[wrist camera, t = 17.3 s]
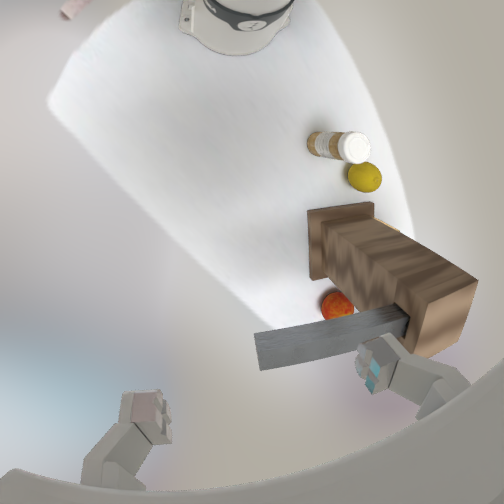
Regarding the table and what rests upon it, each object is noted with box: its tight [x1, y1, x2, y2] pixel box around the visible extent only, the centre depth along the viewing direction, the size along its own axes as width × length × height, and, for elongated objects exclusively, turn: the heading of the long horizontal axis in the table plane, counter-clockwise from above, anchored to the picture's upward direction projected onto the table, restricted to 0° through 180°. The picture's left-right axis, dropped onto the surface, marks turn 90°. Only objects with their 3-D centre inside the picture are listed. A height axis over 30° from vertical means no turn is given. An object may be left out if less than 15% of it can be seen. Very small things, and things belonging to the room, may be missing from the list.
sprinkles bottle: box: [307, 131, 371, 164], centre depth 40 cm, size 5×5×13 cm
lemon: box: [348, 162, 382, 192], centre depth 45 cm, size 6×6×8 cm
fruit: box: [321, 292, 354, 320], centre depth 56 cm, size 7×7×8 cm
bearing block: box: [307, 202, 478, 358], centre depth 40 cm, size 14×14×30 cm
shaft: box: [254, 303, 411, 371], centre depth 30 cm, size 3×24×3 cm, turn 97°
